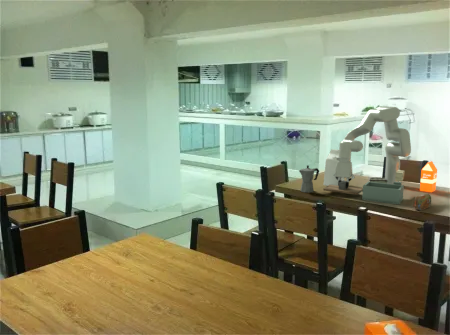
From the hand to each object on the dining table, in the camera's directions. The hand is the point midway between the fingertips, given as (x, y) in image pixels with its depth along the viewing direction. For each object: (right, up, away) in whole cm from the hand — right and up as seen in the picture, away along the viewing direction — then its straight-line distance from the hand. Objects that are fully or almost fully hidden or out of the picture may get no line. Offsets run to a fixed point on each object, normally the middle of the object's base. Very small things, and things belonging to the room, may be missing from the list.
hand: (343, 186), depth 277 cm
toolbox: (+23, -7, -10) cm, 26 cm away
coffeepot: (-21, -4, +12) cm, 24 cm away
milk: (+2, 0, +30) cm, 30 cm away
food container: (+24, -4, +6) cm, 25 cm away
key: (+36, +5, -4) cm, 36 cm away
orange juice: (+61, -3, +11) cm, 62 cm away
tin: (+37, -12, -32) cm, 50 cm away
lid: (0, -2, 0) cm, 2 cm away
